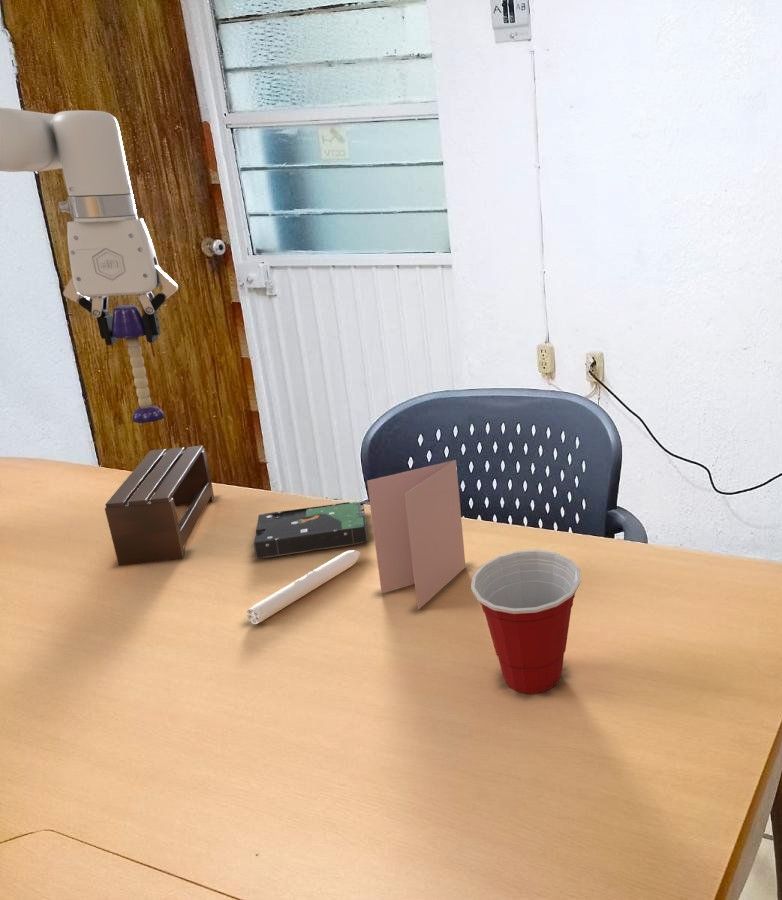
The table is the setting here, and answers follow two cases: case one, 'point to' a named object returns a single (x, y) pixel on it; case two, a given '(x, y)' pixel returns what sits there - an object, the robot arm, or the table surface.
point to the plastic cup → (528, 614)
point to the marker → (301, 587)
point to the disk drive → (310, 529)
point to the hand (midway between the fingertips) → (132, 340)
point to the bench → (159, 505)
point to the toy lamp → (135, 359)
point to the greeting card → (418, 529)
